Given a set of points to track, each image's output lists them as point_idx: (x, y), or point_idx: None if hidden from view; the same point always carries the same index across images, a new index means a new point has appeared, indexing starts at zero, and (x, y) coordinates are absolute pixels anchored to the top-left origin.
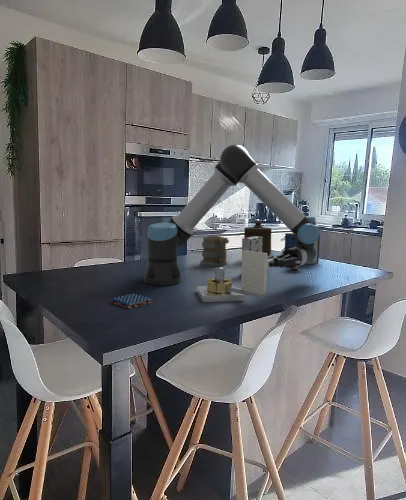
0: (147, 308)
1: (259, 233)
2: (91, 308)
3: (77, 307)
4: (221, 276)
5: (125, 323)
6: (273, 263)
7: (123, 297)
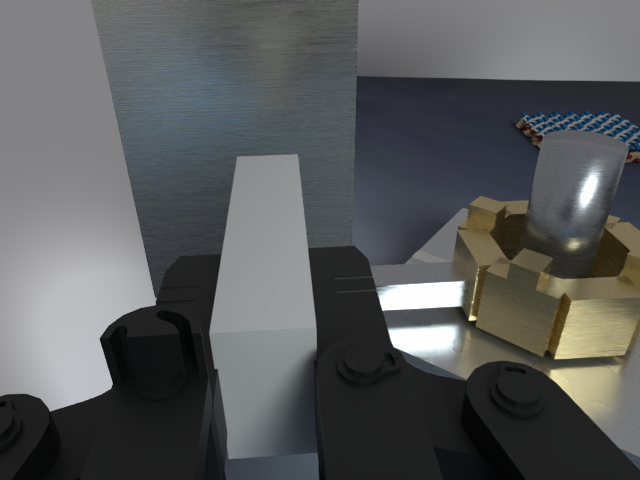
0: (493, 142)
1: None
2: (565, 103)
3: (589, 96)
4: (530, 196)
5: (403, 103)
6: (165, 296)
7: (612, 122)
